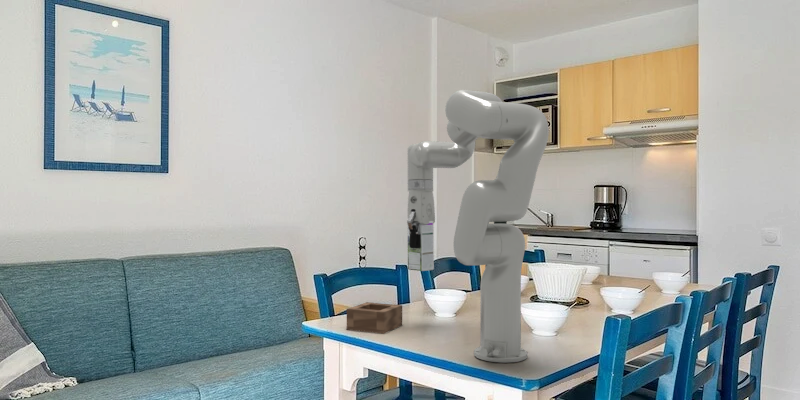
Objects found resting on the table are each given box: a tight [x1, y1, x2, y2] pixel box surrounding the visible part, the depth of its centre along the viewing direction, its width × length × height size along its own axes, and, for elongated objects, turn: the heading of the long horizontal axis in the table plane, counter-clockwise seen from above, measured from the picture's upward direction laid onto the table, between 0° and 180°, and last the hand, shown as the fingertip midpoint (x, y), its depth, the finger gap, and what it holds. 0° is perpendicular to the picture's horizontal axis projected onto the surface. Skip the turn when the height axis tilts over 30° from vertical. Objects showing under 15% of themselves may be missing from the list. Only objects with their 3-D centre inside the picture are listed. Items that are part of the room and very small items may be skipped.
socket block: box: [346, 301, 403, 335], centre depth 174 cm, size 12×12×6 cm
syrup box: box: [406, 221, 435, 272], centre depth 175 cm, size 6×6×14 cm
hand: (420, 246), depth 175 cm, fingers closed on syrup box, 7 cm apart
